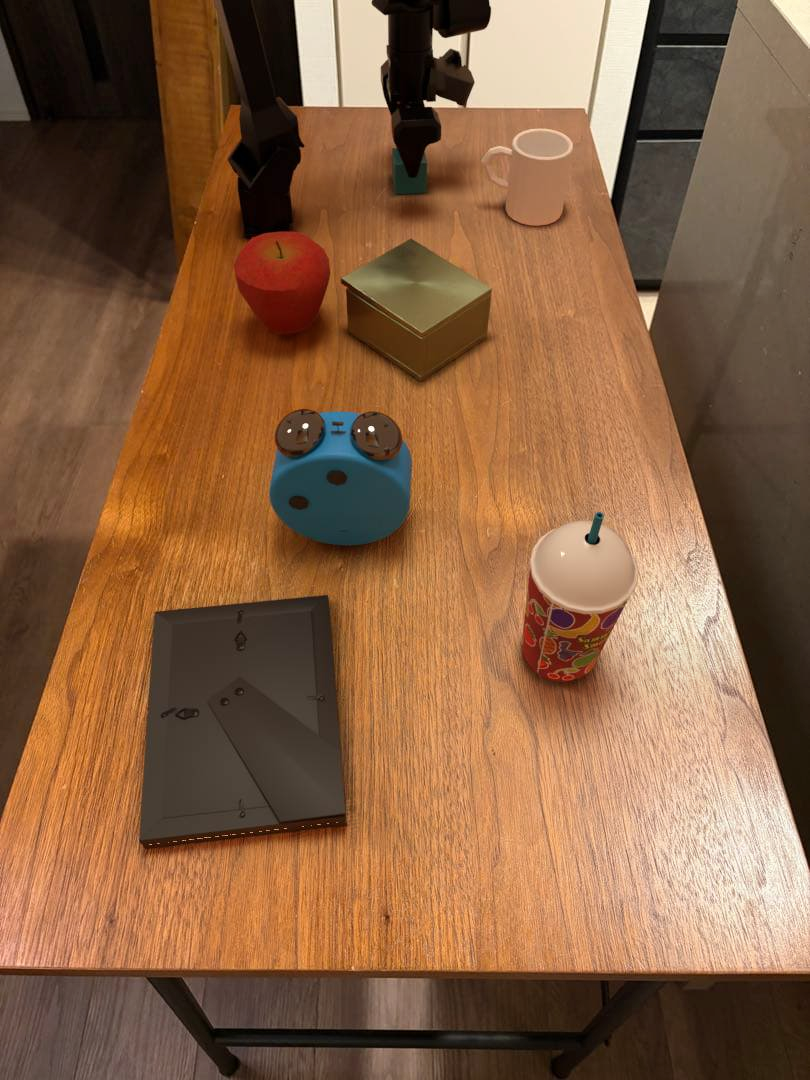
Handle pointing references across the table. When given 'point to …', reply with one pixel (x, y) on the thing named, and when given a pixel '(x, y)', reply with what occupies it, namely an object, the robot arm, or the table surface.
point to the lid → (416, 287)
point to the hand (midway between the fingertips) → (408, 160)
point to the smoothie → (575, 597)
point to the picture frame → (241, 723)
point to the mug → (534, 175)
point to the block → (402, 179)
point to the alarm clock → (341, 476)
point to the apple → (283, 279)
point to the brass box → (409, 347)
